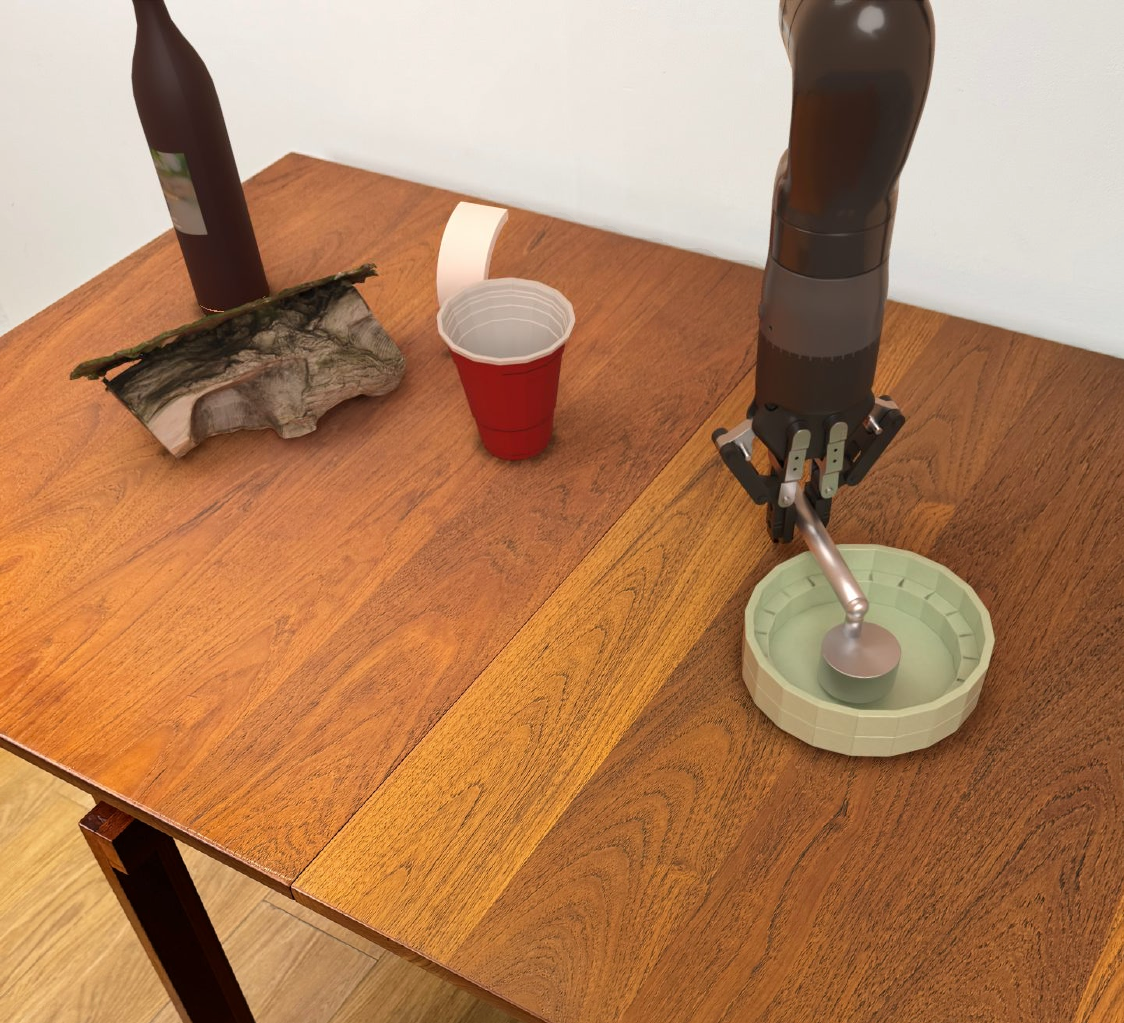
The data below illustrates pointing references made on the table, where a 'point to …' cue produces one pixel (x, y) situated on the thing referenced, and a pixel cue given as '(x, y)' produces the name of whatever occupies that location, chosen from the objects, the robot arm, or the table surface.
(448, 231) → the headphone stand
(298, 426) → the mossy driftwood chunk
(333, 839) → the table surface
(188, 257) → the wine bottle
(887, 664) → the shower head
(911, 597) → the bowl
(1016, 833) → the table surface
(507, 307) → the plastic cup
